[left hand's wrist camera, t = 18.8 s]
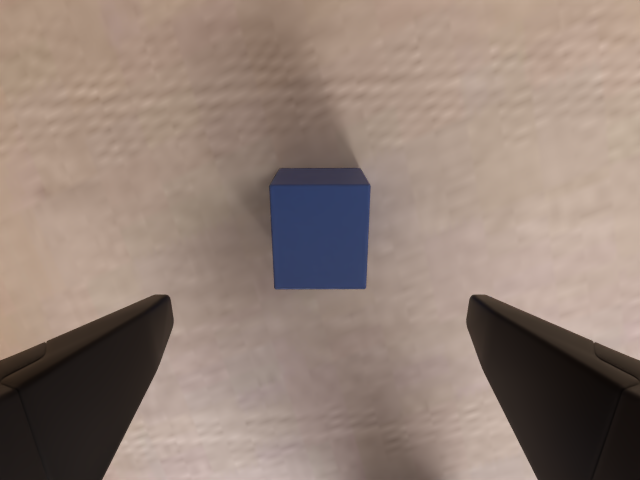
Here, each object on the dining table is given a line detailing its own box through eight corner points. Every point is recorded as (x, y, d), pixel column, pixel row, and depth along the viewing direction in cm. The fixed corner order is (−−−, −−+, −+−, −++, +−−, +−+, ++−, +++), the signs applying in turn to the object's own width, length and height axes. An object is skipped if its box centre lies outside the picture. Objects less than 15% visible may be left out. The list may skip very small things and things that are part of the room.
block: (357, 255, 22) (366, 289, 18) (282, 255, 22) (274, 290, 18) (360, 167, 20) (371, 184, 16) (278, 168, 20) (269, 184, 16)
